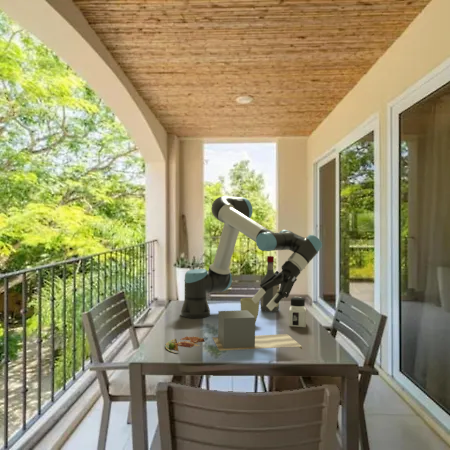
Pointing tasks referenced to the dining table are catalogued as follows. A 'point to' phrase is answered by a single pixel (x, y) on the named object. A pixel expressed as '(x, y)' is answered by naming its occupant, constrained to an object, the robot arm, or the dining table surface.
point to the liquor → (272, 291)
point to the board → (265, 342)
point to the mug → (250, 306)
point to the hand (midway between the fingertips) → (260, 304)
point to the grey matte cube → (236, 329)
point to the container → (297, 312)
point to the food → (183, 343)
